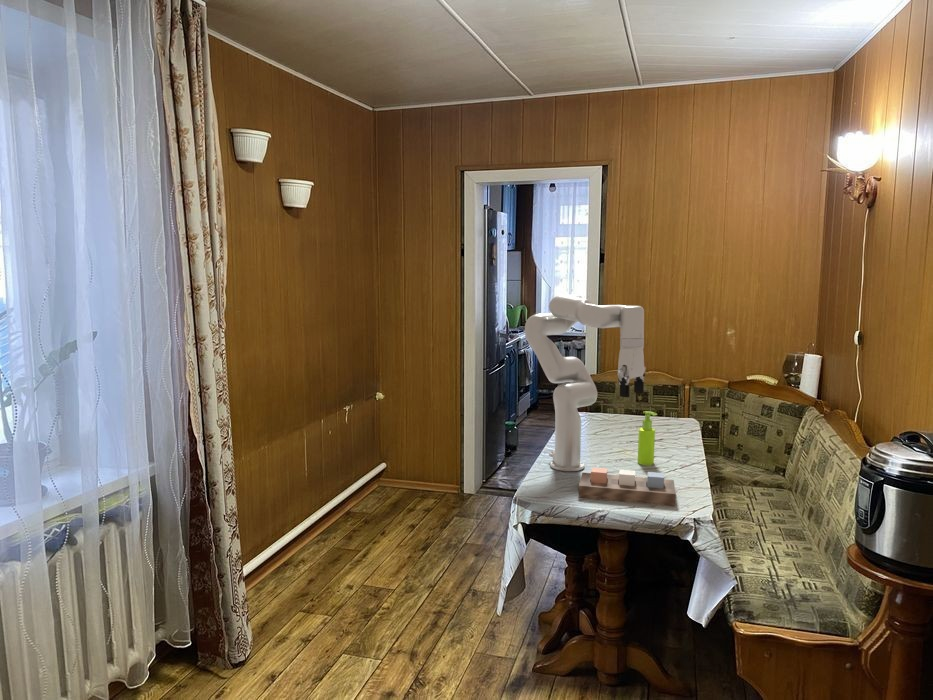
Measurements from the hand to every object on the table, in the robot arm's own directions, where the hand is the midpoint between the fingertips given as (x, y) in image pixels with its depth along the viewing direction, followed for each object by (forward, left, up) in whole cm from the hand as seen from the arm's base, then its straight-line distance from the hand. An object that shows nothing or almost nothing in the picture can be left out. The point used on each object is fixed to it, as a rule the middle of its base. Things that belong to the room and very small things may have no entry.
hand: (631, 394), depth 221 cm
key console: (+4, -5, -32) cm, 33 cm away
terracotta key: (-3, -11, -29) cm, 31 cm away
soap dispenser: (-15, +28, -32) cm, 45 cm away
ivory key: (+4, -5, -29) cm, 29 cm away
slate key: (+11, +1, -29) cm, 31 cm away
